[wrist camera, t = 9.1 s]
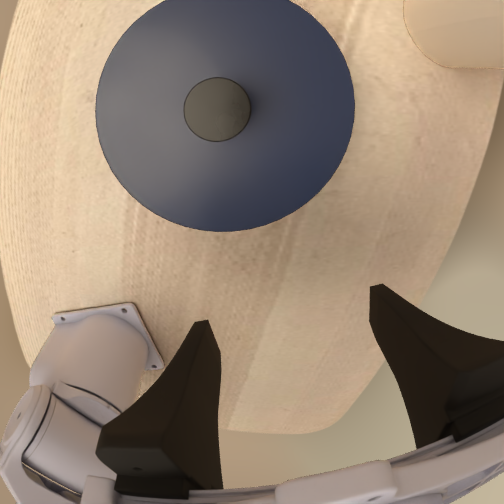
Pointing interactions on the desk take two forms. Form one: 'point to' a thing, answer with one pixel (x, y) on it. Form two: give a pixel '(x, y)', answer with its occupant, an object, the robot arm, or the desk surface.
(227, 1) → the tin lid
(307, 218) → the desk surface
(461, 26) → the cylindrical container
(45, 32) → the desk surface
